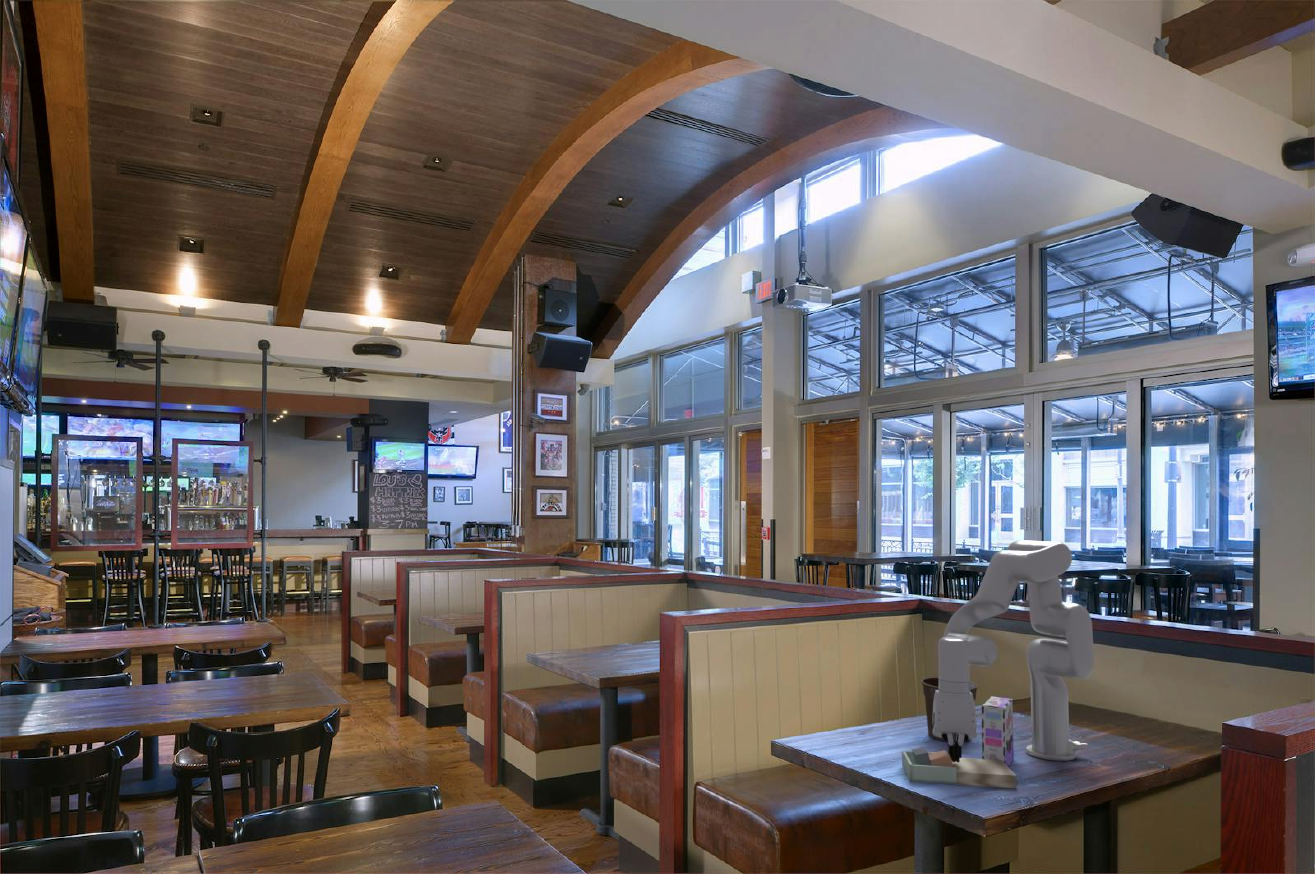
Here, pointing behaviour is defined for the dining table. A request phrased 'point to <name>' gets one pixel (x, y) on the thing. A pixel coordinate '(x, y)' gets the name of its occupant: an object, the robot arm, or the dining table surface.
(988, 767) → the tan wooden slab
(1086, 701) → the dining table surface
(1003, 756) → the candy box
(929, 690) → the plant pot
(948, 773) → the tray
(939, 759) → the tile
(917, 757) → the tile
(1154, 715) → the dining table surface
